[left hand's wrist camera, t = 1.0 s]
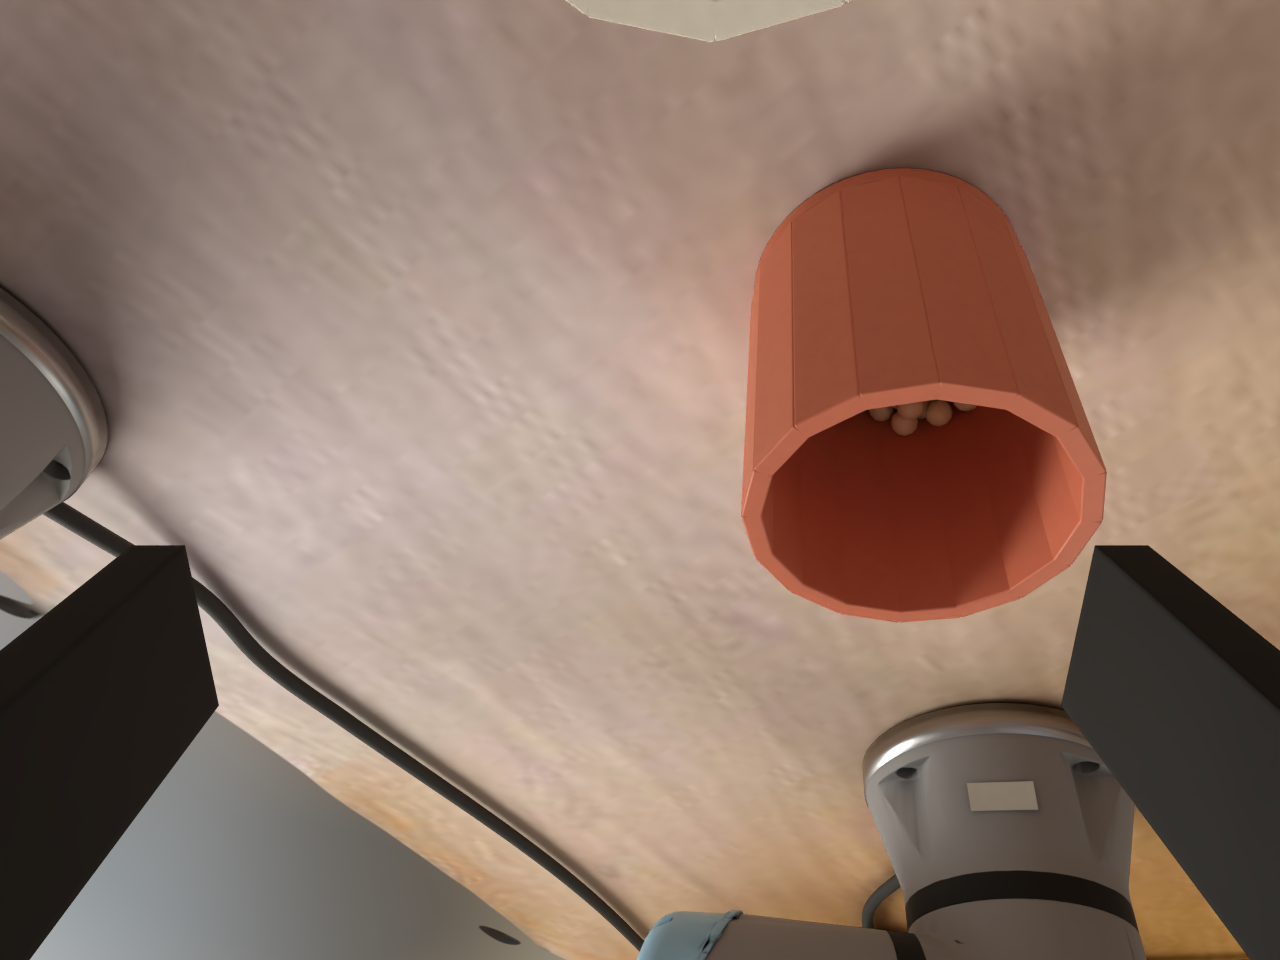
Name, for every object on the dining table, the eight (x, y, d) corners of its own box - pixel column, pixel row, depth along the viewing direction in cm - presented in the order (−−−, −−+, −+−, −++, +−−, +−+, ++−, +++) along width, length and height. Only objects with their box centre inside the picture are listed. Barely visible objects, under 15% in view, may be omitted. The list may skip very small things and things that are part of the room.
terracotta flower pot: (1022, 369, 33) (1096, 607, 25) (780, 407, 36) (778, 632, 28) (1020, 136, 27) (1116, 353, 19) (728, 203, 30) (708, 417, 22)
